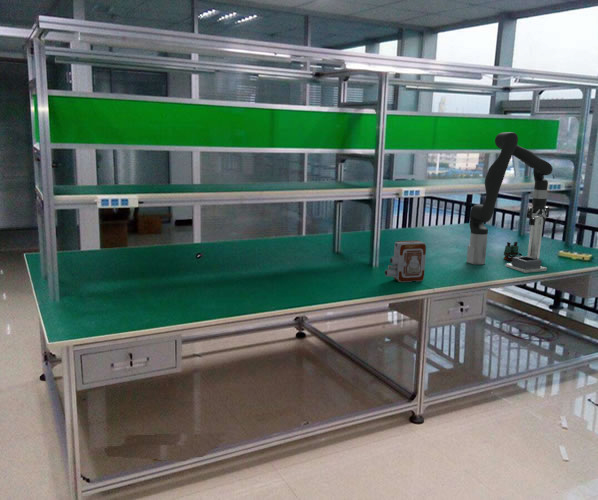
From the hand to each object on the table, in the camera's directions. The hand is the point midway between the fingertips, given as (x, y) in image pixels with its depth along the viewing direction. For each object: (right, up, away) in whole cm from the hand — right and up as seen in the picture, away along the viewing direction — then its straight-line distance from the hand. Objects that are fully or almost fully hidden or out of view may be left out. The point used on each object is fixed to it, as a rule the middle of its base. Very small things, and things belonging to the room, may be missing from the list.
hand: (536, 224), depth 326 cm
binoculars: (-15, -21, -2) cm, 26 cm away
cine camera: (-88, -30, -49) cm, 105 cm away
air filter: (0, -20, +4) cm, 20 cm away
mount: (-15, -25, -21) cm, 36 cm away
